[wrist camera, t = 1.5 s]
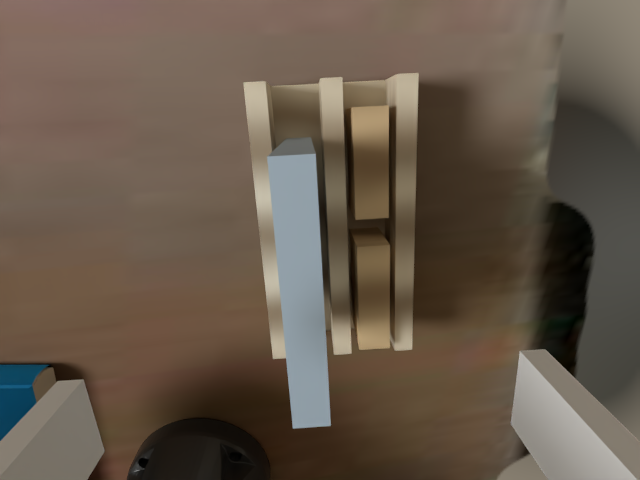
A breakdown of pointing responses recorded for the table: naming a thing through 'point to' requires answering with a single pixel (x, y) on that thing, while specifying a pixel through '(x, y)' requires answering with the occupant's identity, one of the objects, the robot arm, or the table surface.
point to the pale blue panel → (300, 278)
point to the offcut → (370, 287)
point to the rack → (339, 191)
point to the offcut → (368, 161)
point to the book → (21, 391)
